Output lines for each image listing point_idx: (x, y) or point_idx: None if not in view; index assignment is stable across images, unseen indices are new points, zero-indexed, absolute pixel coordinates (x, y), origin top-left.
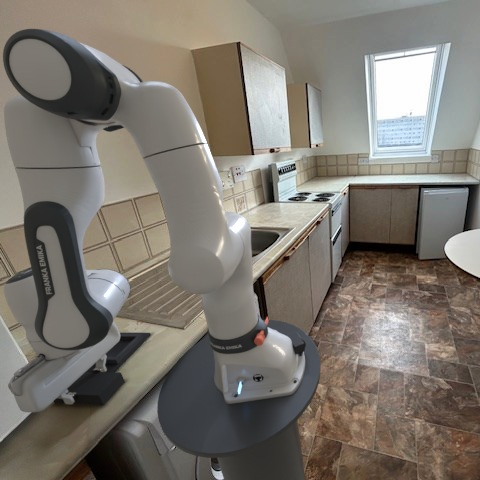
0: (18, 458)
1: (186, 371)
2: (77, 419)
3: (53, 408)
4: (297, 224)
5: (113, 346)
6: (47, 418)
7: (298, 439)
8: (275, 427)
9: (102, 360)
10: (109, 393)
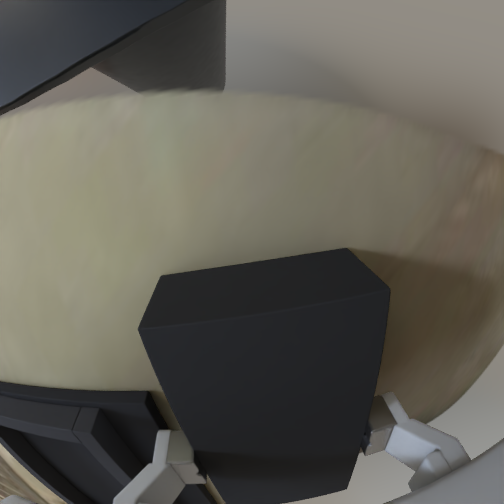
0: (496, 340)
1: (35, 5)
2: (415, 307)
3: None
4: None
5: (69, 465)
6: None
7: None
8: None
9: (146, 498)
10: (296, 270)
